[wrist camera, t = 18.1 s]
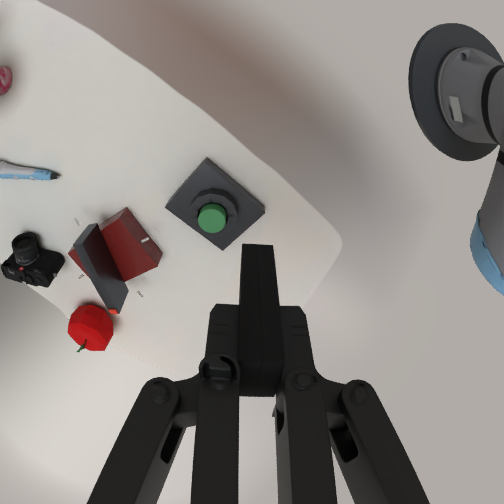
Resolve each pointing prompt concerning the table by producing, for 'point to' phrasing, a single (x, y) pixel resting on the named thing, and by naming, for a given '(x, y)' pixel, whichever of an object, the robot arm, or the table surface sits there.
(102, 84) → the table surface
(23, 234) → the camera
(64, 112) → the table surface
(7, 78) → the cup
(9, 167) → the pen
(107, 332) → the apple
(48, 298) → the table surface
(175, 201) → the control block
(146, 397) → the robot arm
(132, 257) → the red rectangular box
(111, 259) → the red-tipped grey slab
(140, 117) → the table surface
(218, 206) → the green push button
